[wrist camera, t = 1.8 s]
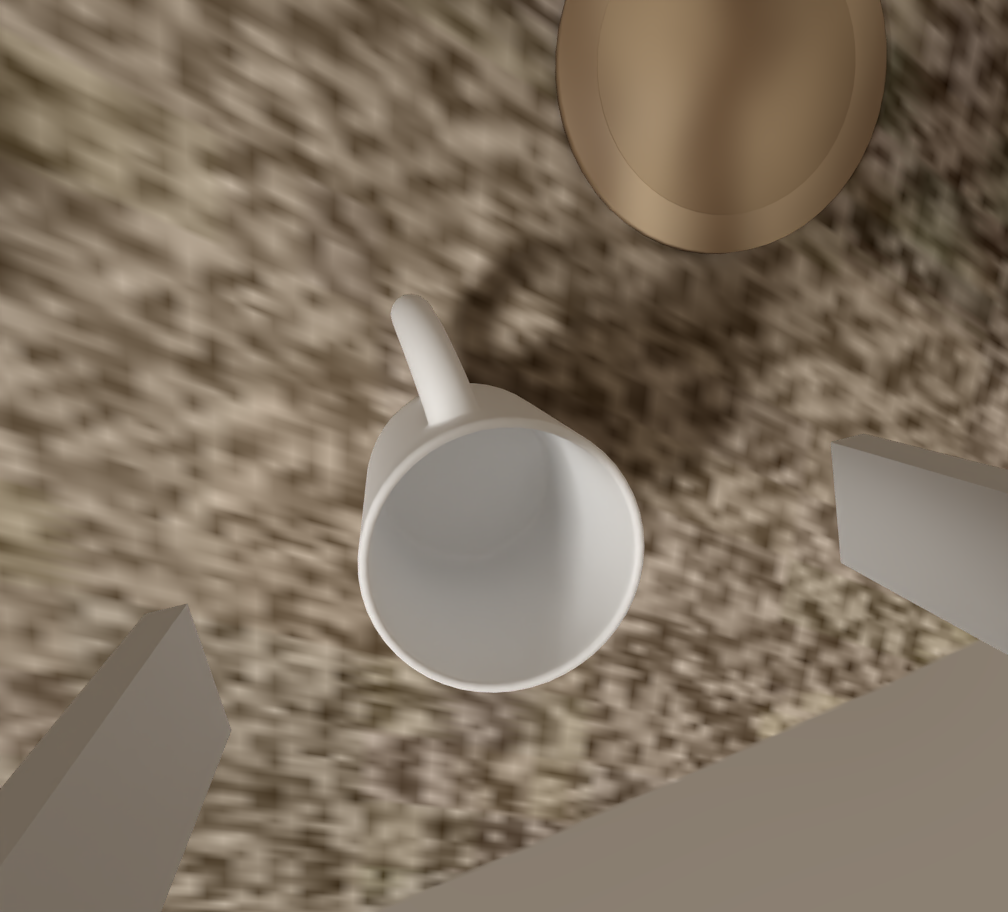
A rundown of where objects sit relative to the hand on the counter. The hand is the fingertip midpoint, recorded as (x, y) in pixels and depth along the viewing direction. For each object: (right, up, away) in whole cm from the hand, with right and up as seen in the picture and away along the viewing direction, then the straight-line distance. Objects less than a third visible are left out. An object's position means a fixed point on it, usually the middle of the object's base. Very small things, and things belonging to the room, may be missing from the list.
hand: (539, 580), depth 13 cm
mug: (-3, +3, +15) cm, 16 cm away
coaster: (+8, +18, +14) cm, 24 cm away
